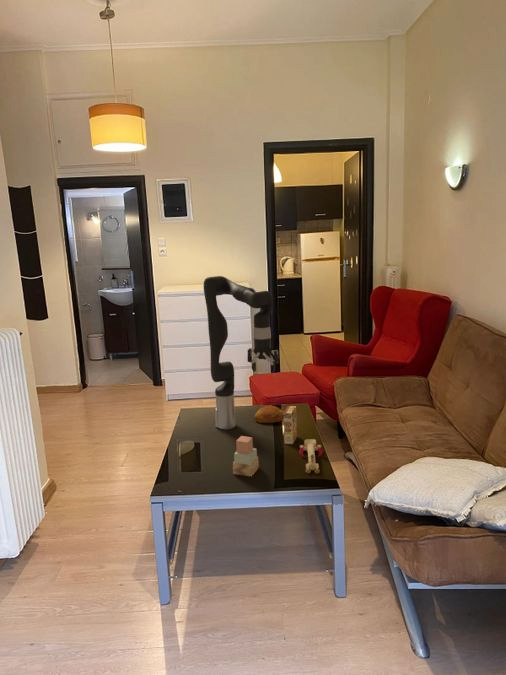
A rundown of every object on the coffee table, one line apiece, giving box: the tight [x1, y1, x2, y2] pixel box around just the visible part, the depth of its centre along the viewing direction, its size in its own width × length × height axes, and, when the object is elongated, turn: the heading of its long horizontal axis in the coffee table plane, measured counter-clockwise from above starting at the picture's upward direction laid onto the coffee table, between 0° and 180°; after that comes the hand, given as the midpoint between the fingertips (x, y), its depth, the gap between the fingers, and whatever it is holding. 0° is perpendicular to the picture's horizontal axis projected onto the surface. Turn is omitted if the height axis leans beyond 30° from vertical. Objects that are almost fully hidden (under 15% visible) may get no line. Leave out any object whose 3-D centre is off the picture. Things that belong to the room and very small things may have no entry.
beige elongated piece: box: [298, 438, 324, 474], centre depth 209 cm, size 10×9×25 cm
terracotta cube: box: [235, 435, 254, 454], centre depth 200 cm, size 5×5×5 cm
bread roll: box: [254, 405, 284, 424], centre depth 255 cm, size 14×16×8 cm
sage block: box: [233, 447, 258, 465], centre depth 200 cm, size 7×7×4 cm
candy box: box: [283, 405, 298, 445], centre depth 227 cm, size 9×4×15 cm, turn 162°
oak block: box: [232, 456, 259, 477], centre depth 202 cm, size 8×8×5 cm
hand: (263, 371), depth 220 cm, fingers open, 8 cm apart
